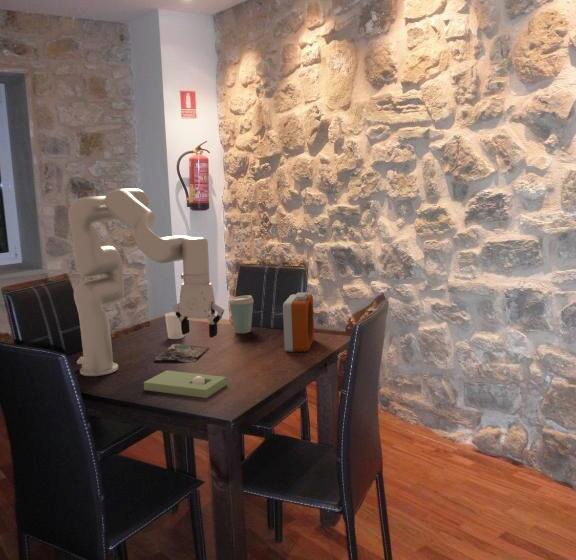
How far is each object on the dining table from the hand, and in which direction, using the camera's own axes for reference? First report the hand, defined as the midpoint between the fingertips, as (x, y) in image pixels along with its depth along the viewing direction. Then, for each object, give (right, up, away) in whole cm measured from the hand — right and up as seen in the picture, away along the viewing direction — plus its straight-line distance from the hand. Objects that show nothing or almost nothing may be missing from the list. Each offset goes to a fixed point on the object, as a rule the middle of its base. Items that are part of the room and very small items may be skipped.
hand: (199, 334), depth 177 cm
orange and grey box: (+31, -9, +46) cm, 57 cm away
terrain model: (-12, -12, +42) cm, 45 cm away
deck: (-5, -17, +5) cm, 18 cm away
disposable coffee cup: (+8, -6, +72) cm, 72 cm away
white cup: (-20, -7, +67) cm, 70 cm away
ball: (-1, -15, +3) cm, 15 cm away
